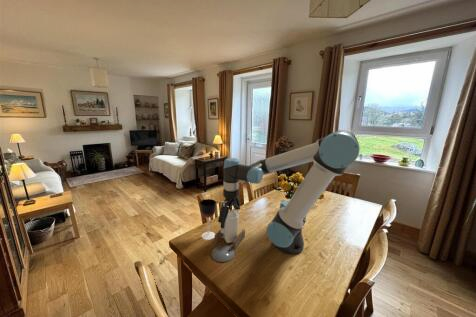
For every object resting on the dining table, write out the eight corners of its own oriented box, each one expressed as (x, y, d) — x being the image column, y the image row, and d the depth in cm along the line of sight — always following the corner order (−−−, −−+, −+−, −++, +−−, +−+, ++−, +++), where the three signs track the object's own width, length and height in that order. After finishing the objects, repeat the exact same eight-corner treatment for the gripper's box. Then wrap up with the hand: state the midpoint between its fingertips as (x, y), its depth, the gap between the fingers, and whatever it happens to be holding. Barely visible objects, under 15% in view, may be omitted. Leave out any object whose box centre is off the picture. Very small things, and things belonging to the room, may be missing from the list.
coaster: (238, 250, 95) (238, 249, 94) (227, 265, 85) (227, 264, 85) (219, 243, 99) (219, 242, 99) (207, 257, 90) (207, 256, 89)
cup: (239, 242, 101) (239, 216, 97) (226, 245, 98) (226, 219, 95) (233, 234, 107) (234, 210, 104) (221, 237, 104) (221, 212, 101)
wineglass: (213, 241, 101) (213, 206, 97) (198, 238, 103) (197, 204, 99) (218, 232, 109) (218, 200, 105) (203, 230, 111) (203, 198, 106)
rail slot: (244, 236, 105) (245, 229, 104) (235, 250, 95) (235, 242, 94) (225, 230, 110) (226, 224, 109) (214, 242, 100) (214, 235, 99)
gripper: (235, 180, 109) (234, 213, 114) (210, 196, 87) (210, 236, 92) (247, 182, 106) (245, 217, 110) (225, 199, 84) (224, 241, 88)
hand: (229, 226), depth 101 cm, fingers open, 13 cm apart
